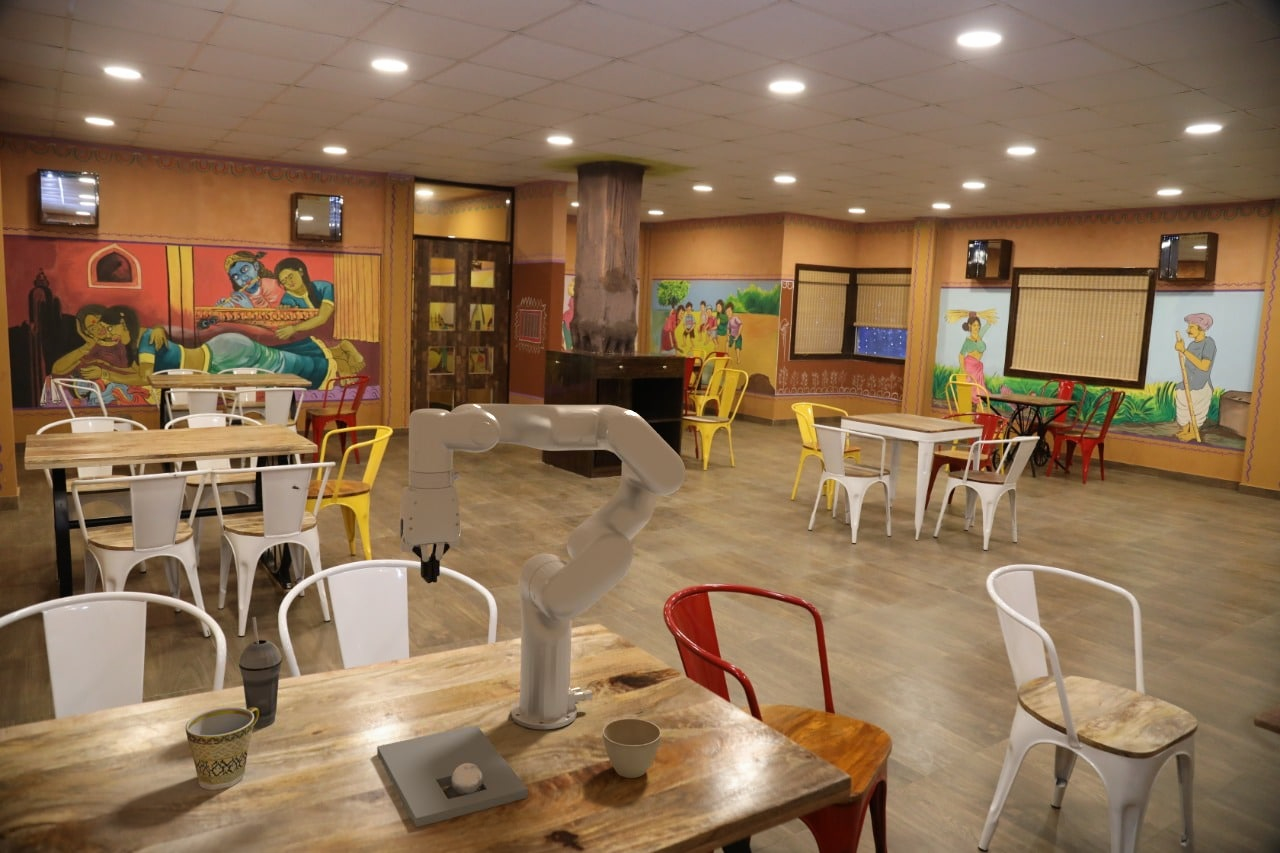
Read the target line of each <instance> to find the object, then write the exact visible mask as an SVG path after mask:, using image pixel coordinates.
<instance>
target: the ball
mask: <svg viewBox="0 0 1280 853" xmlns="http://www.w3.org/2000/svg"><path fill="white" fill-rule="evenodd" d="M482 782H483V775H482V772H481V770H480V769H479V767H477V766H476V765H474V764H472V763H465V764H462V765H460V766H458V767H457V768H456V769H455V771H454V772H453V774H452V777H451V784H450V786H451V785H452V788H453V790H454V791H455V792H456V793H457V794H458V795H460V796H463V795H467V794H471V793H475V792H478V791H480V790H481V789H480V788H481V786H482Z"/></svg>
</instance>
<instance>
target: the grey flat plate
mask: <svg viewBox="0 0 1280 853" xmlns="http://www.w3.org/2000/svg"><path fill="white" fill-rule="evenodd" d="M376 749H377V750H376V751H377V752H376V753H377V754H376V755H377V757H378V758H379V760H380V763H381V764H382V766H383V769H385V771H386V773H387V775H388V777H389V779H390V781H391V784H392V785H393V787H394V788H395V791H396V792H397V794H398V796H399V797H400V800H401V802H402V803H403V805H404V807H405V809H406V811H407V813H408V814H409V817H410V818H411V821H412V822H413V824H414V826H415V828H420V827H424V826H427V825H431V824H435V823H438V822H442V821H447V820H449V819H453V818H457V817H461V816H465V815H468V814H471V813H476V812H479V811H483V810H487V809H491V808H494V807H499V806H502V805H505V804H510V803H512V802H516V801H517V802H518V801H520V800H523V799H524V800H525V799H528V795H529V793H528V791H529V790H528V788H527V786H526V785H525V783H523V780H521V779H520V777H519V776H518V775H517V774H516V772H515V770H513V768H512V767H511V766H510V765H509V764H508V763H507V761H506V760H505V758H504V757H503V756H502V755H501V754H500V752H499V751H498V750H497V748H496V746H494V745H493V743H492V742H491V741H490V740H489V738H488V736H486V735H485V733H484V732H483V730H481V728H480V727H479V726H478V724H474V725H471V726H466V727H461V728H457V729H456V728H455V729H451V730H447V731H441V732H437V733H433V734H429V735H423V736H420V737H414V738H410V739H404V740H400V741H396V742H391V743H386V744H382V745H377V748H376ZM465 763H472V764H474V765H476V766H477V767H479V769H480V770H481V772H482V775H483V782H482V786H481V788H480V789H479V791H478V792H475V793H471V794H467V795H463V796H460V795H458V794H457V793H456V792H455V791H454V790H453V788H452V785H451V777H452V774H453V772H454V771H455V769H456V768H457V767H458V766H460V765H462V764H465ZM449 785H450V786H449ZM446 786H448V787H446ZM442 787H446V788H445V790H443V789H442Z"/></svg>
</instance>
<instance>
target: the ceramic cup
mask: <svg viewBox="0 0 1280 853" xmlns="http://www.w3.org/2000/svg"><path fill="white" fill-rule="evenodd" d="M253 711H255V713H256V714H255V718H254V714H253V713H252V712H253ZM258 717H259V710H258V709H257V708H255V707H251V708H248V709H246V708H242V707H237V706H236V707H233V706H232V707H231V706H229V707H221V708H220V707H219V708H215V709H211V710H210V709H209V710H207V711H203V712H200V714H199V713H198V714H197V715H195V716H193V717H192V718H190V719H189V720H188V721H187V722H186V723H185V724H186V725H185V732H186V738H187V743H188V747H189V749H190V753H191V755H192V758H193V763H194V767H195V771H196V772H195V773H196V775H197V780H198V784H199V786H200V788H203V789H206V790H209V791H216V790H223V789H227V788H228V789H229V788H231V787H233V786H234V785H236V784H238V783H239V782H241V781H242V780H243V779H244V777H245V773H246V765H247V758H248V752H249V747H250V743H251V739H252V735H253V730H254V727H253V726H254V725H255V723H256V722H257V720H258Z"/></svg>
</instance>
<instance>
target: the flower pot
mask: <svg viewBox="0 0 1280 853" xmlns="http://www.w3.org/2000/svg"><path fill="white" fill-rule="evenodd" d="M602 738H603V744H604V749H605V751H606V754H607V757H608V759H609V761H610V764H611V765H612V767H613V769H614V771H615V772H616V773H617V774H618V775H619V776H621V777H623V778H626V779H627V778H628V779H635V778H639V777H641V776H644V775H645V773H646V772H647V771H648V770H649V768H650V766H651V765H652V763H653V761H654V760H655V757H656V755H657V752H658V750H659V746H660V742H661V738H662V730H661V728H660V727H659V726H658V725H656V723H654V722H651V721H649V720H647V719H641V718H632V717H631V718H629V717H628V718H619V719H615V720H612V721H610V722H608V723H607V724H605V726H604V727H603V728H602Z"/></svg>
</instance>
